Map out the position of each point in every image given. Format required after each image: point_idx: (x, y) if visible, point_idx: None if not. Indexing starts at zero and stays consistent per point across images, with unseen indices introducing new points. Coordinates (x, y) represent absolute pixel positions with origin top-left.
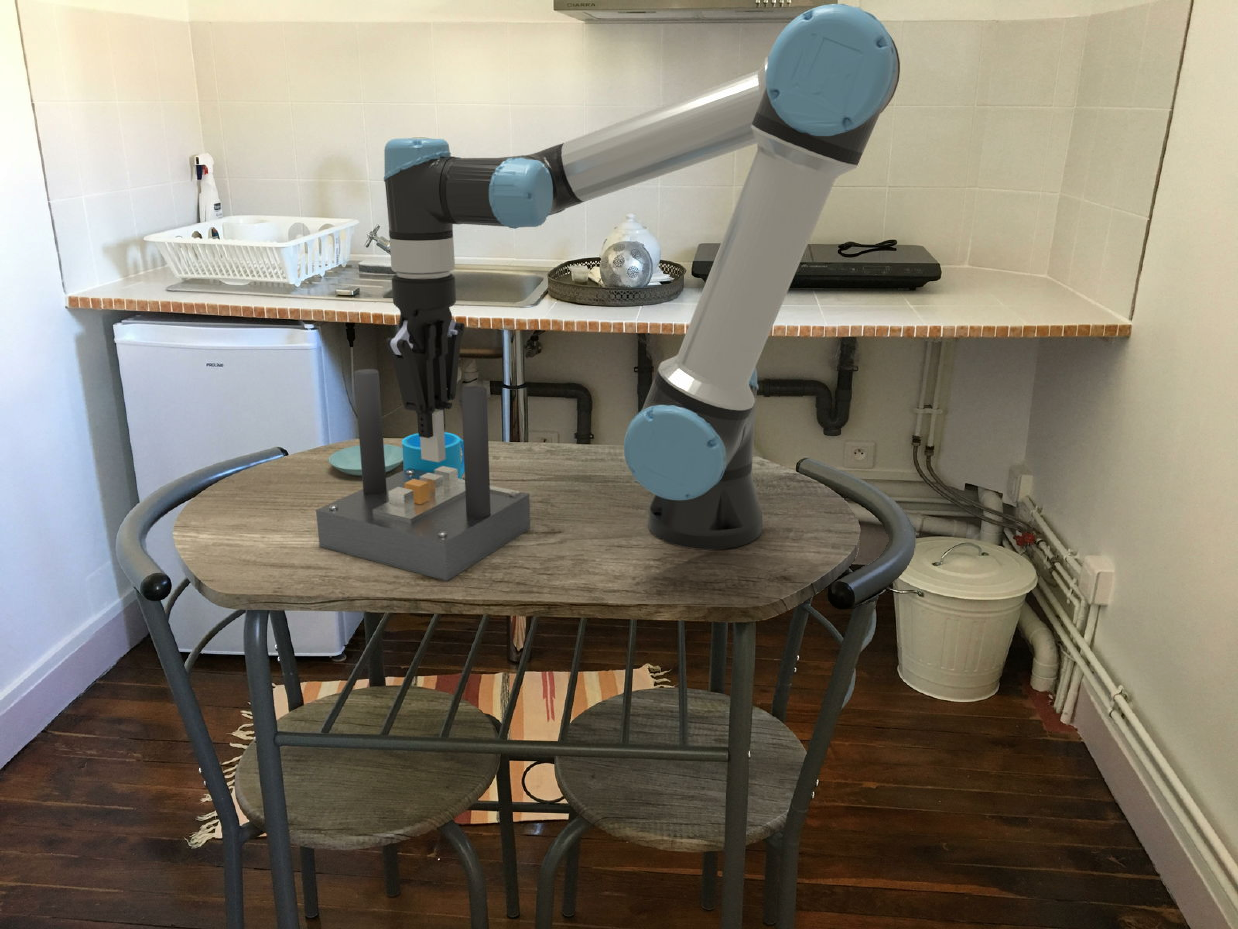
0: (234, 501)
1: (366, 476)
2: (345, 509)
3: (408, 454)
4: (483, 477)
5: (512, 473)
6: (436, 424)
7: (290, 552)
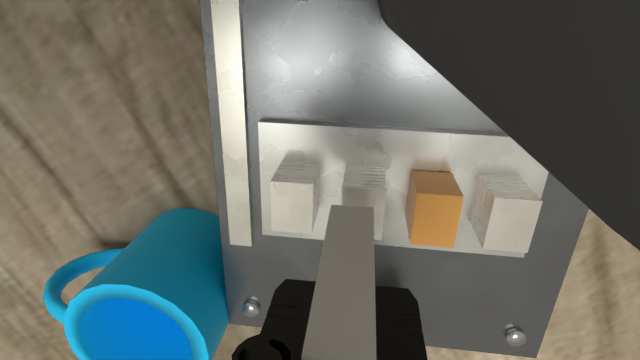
0: None
1: None
2: (511, 313)
3: (214, 349)
4: None
5: (16, 182)
6: (374, 310)
7: None
